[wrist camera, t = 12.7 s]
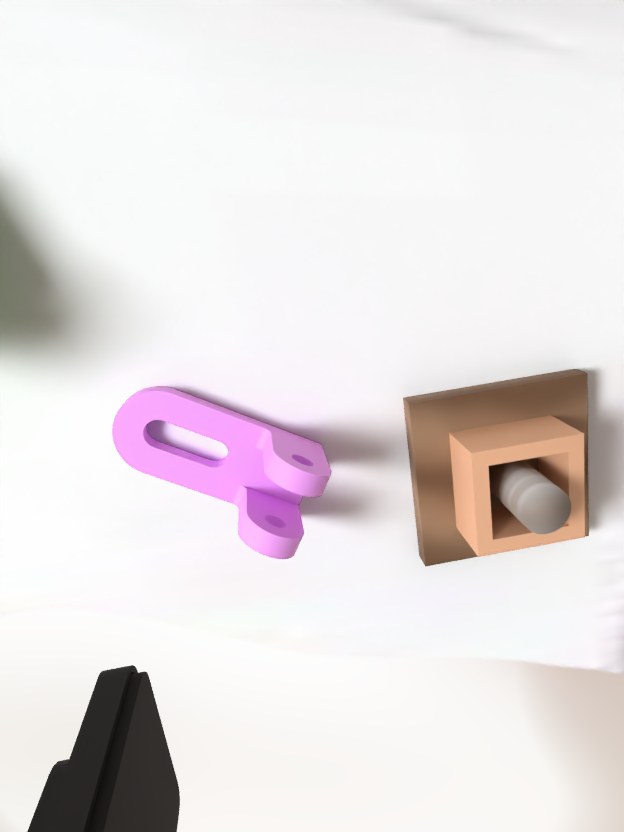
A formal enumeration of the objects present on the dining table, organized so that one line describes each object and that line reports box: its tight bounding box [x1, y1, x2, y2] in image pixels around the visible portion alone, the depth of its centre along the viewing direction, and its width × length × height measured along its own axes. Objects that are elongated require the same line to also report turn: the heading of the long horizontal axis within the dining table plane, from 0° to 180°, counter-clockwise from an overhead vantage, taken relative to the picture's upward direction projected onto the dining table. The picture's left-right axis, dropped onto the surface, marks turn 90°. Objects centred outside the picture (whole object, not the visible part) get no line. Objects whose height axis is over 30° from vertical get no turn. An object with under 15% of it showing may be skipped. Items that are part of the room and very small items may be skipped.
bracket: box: [113, 386, 331, 559], centre depth 36 cm, size 13×6×7 cm, turn 67°
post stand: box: [403, 369, 589, 566], centre depth 38 cm, size 12×12×8 cm
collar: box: [449, 416, 585, 557], centre depth 38 cm, size 7×7×4 cm
